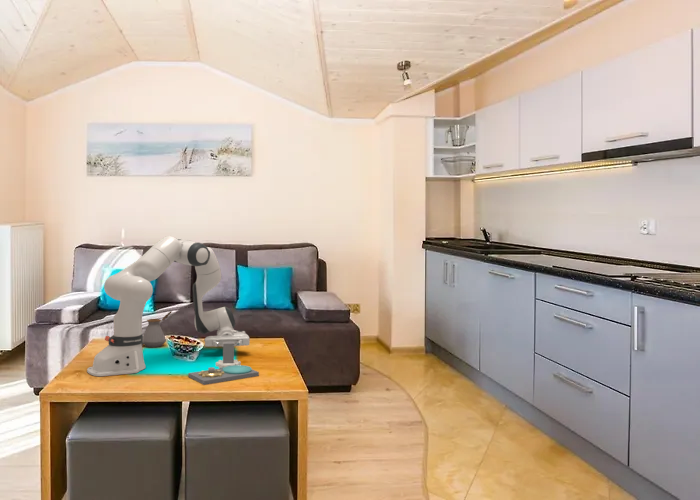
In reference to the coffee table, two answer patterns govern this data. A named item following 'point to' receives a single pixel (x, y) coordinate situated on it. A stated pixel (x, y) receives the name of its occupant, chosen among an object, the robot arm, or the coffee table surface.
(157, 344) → the coffee pot
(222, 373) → the gear board
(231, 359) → the loose gear
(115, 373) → the robot arm
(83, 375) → the coffee table surface
